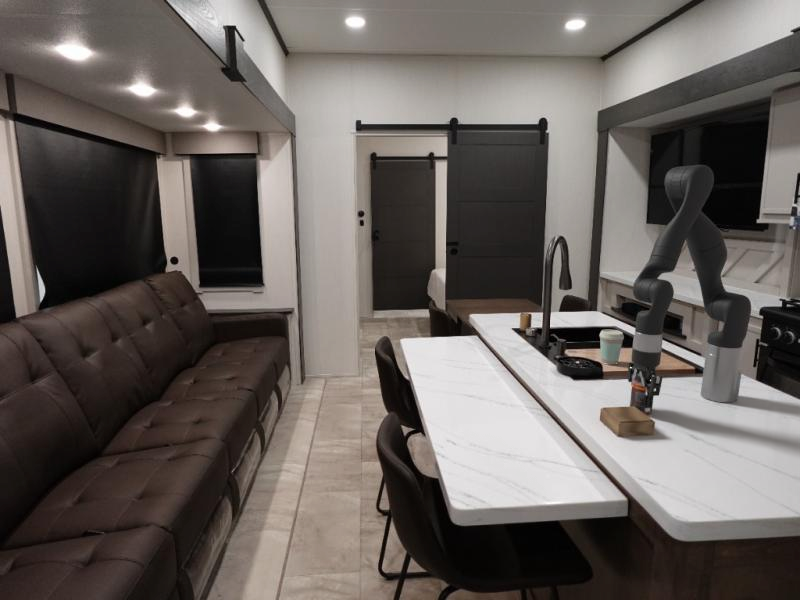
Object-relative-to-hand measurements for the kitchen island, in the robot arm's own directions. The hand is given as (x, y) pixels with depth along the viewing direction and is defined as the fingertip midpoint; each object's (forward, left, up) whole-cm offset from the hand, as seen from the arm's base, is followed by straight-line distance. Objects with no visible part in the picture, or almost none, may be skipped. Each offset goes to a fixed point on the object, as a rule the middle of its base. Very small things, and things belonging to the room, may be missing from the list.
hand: (641, 402), depth 155 cm
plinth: (+10, +10, -3) cm, 14 cm away
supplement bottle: (0, 0, -3) cm, 3 cm away
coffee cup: (-13, -44, -3) cm, 46 cm away
